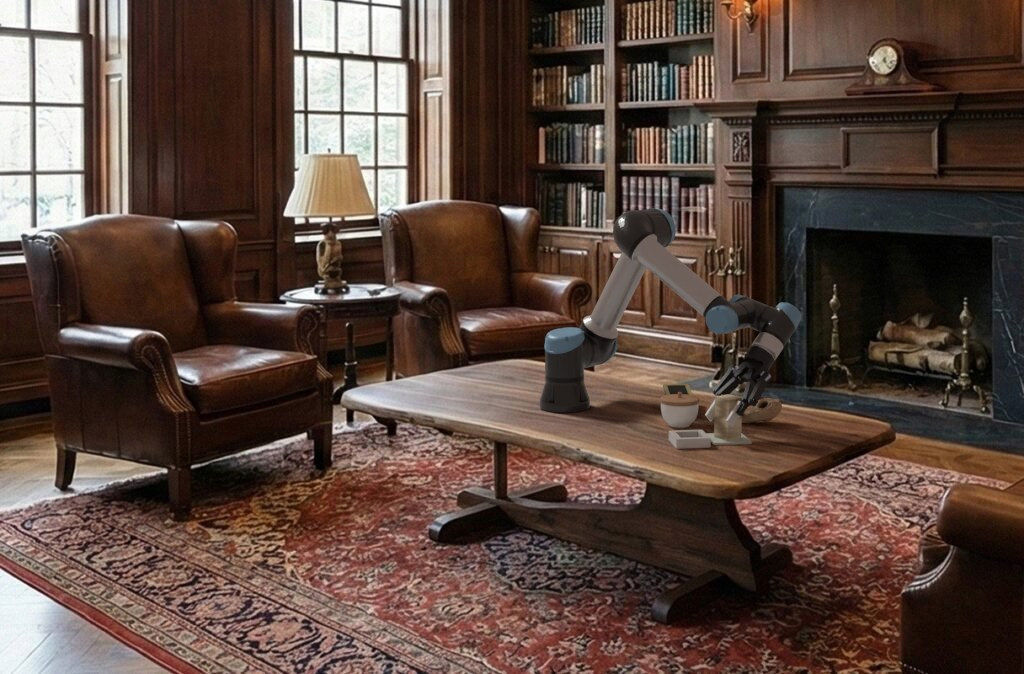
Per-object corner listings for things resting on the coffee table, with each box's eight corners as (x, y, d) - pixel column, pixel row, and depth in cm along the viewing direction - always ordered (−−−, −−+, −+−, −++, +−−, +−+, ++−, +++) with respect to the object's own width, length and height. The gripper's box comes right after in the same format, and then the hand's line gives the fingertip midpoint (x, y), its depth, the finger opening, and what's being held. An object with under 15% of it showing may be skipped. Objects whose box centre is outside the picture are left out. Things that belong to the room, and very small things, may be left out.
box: (687, 397, 344) (688, 382, 342) (701, 428, 323) (702, 412, 321) (660, 398, 344) (660, 383, 342) (673, 429, 323) (673, 413, 321)
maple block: (714, 436, 301) (715, 396, 299) (727, 433, 304) (728, 394, 302) (727, 440, 297) (728, 400, 295) (741, 437, 300) (742, 397, 298)
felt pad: (714, 445, 295) (714, 443, 295) (704, 435, 305) (704, 433, 305) (751, 443, 296) (751, 441, 296) (740, 434, 306) (740, 432, 306)
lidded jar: (656, 428, 314) (656, 395, 312) (665, 419, 324) (665, 387, 322) (694, 431, 310) (694, 397, 309) (702, 422, 320) (702, 389, 318)
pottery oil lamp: (737, 418, 323) (737, 394, 322) (780, 419, 321) (780, 395, 320) (738, 426, 315) (738, 401, 313) (782, 427, 313) (783, 402, 312)
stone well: (676, 448, 292) (676, 439, 292) (668, 439, 301) (668, 430, 301) (710, 447, 293) (710, 438, 293) (701, 438, 302) (702, 429, 302)
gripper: (798, 367, 298) (753, 436, 291) (742, 356, 314) (699, 422, 308) (784, 349, 294) (739, 419, 288) (729, 339, 310) (685, 405, 304)
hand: (718, 420), depth 298 cm, fingers open, 7 cm apart
